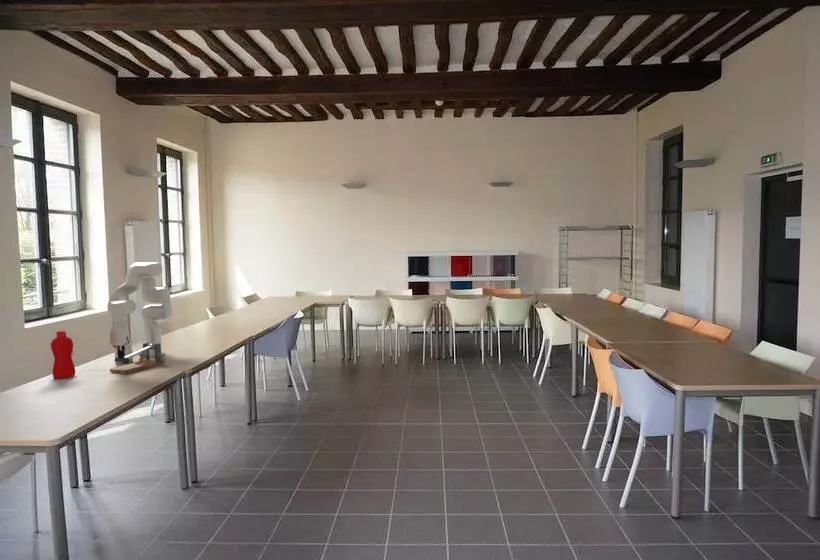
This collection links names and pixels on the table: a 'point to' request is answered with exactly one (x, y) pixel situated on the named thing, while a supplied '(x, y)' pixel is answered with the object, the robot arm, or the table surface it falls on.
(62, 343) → the red bottle
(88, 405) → the table surface
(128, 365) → the brown board with cylinder
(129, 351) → the ink box
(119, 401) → the table surface
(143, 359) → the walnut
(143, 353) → the lever
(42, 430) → the table surface
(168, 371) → the table surface
